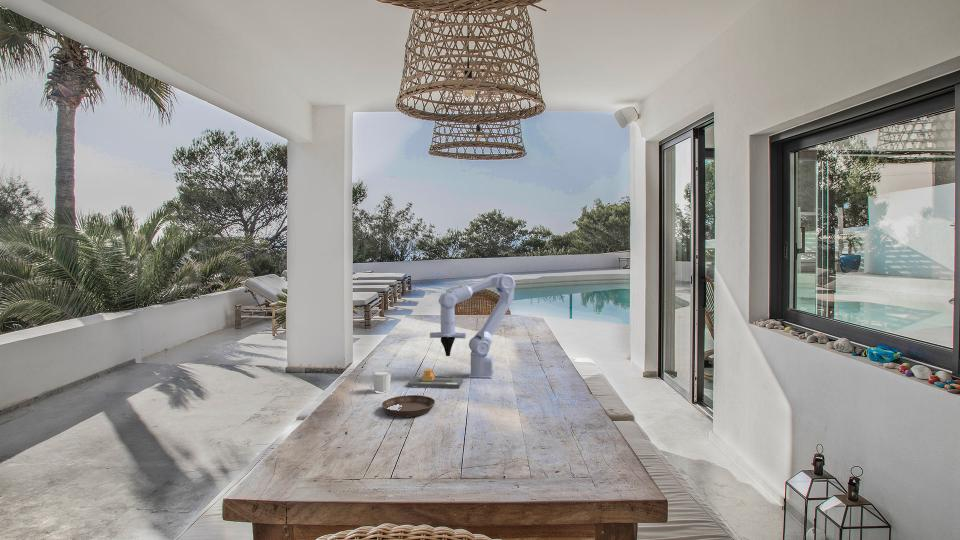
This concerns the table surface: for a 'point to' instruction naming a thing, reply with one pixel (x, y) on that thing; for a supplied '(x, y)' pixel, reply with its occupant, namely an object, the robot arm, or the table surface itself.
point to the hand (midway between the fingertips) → (448, 355)
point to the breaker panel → (437, 382)
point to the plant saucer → (409, 405)
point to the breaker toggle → (428, 375)
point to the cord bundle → (442, 377)
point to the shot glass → (382, 381)
